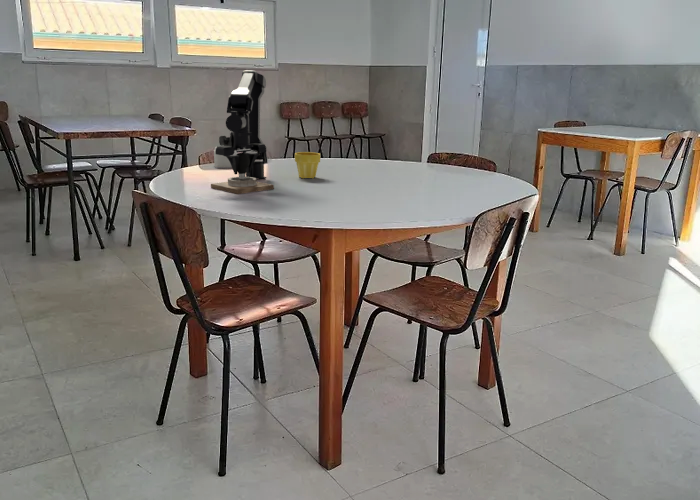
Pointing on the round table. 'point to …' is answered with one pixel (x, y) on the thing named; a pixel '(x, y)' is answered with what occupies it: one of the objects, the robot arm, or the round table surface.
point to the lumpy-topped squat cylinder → (221, 161)
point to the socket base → (244, 189)
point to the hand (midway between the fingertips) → (242, 173)
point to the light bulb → (243, 165)
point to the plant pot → (307, 164)
